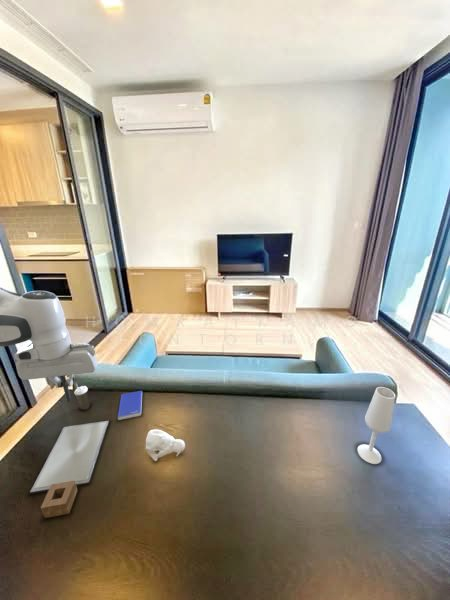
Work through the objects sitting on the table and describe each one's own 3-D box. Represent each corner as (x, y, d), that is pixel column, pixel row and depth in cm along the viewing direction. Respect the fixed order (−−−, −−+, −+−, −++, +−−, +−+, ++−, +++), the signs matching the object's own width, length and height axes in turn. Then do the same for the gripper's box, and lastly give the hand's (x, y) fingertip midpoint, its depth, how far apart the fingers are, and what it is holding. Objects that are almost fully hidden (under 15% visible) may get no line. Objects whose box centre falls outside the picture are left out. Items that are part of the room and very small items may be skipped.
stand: (44, 518, 63) (40, 508, 62) (55, 494, 68) (51, 484, 67) (69, 513, 64) (65, 503, 63) (77, 490, 69) (74, 480, 68)
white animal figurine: (148, 424, 79) (186, 425, 80) (149, 443, 82) (185, 444, 83) (143, 441, 73) (184, 442, 74) (144, 462, 76) (183, 463, 77)
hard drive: (140, 412, 93) (141, 390, 105) (117, 417, 91) (121, 394, 103) (141, 415, 94) (142, 393, 105) (118, 420, 92) (121, 397, 103)
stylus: (66, 402, 77) (55, 363, 72) (68, 399, 78) (57, 361, 73) (70, 401, 77) (59, 363, 72) (72, 398, 78) (61, 361, 73)
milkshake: (87, 400, 102) (82, 380, 98) (94, 406, 99) (88, 385, 95) (75, 407, 98) (69, 386, 95) (82, 413, 95) (76, 392, 92)
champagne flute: (385, 455, 78) (403, 393, 70) (376, 468, 74) (394, 405, 66) (363, 440, 83) (377, 381, 75) (353, 452, 79) (367, 391, 71)
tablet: (30, 494, 68) (29, 491, 68) (64, 428, 89) (63, 426, 88) (89, 484, 71) (88, 481, 70) (109, 422, 91) (108, 420, 91)
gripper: (96, 337, 75) (104, 375, 80) (20, 344, 72) (33, 383, 77) (89, 348, 70) (98, 388, 75) (7, 356, 66) (22, 397, 71)
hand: (65, 385), depth 76 cm, fingers closed on stylus, 1 cm apart
